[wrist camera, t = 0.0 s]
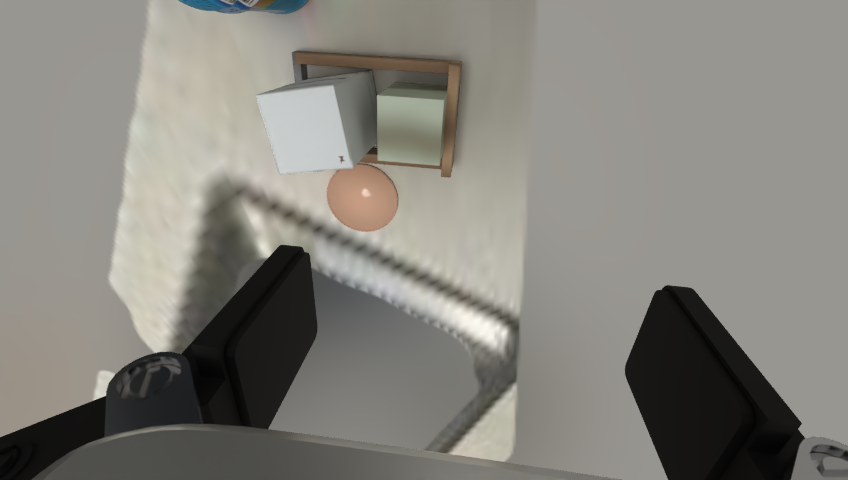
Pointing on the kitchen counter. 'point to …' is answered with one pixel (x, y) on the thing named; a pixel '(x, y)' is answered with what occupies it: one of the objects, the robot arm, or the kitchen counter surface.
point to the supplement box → (321, 122)
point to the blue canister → (246, 5)
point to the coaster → (362, 197)
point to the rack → (405, 109)
